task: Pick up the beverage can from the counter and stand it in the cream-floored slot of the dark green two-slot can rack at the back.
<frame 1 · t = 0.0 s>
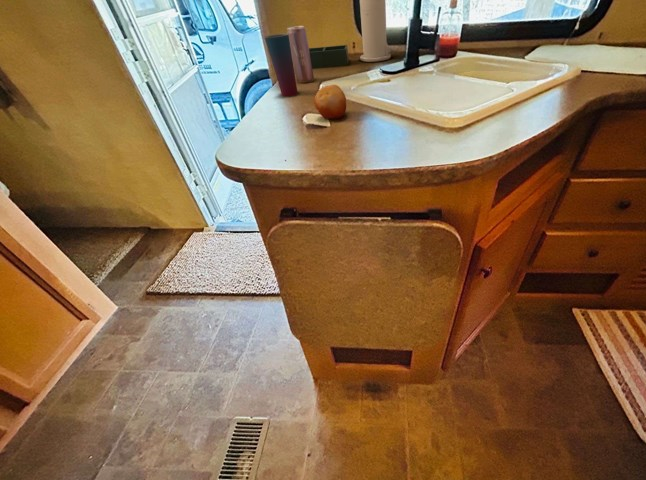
beverage can: (306, 81, 110), on the table
fruit: (333, 117, 81), on the table
rack: (326, 64, 127), on the table
cup: (290, 94, 100), on the table
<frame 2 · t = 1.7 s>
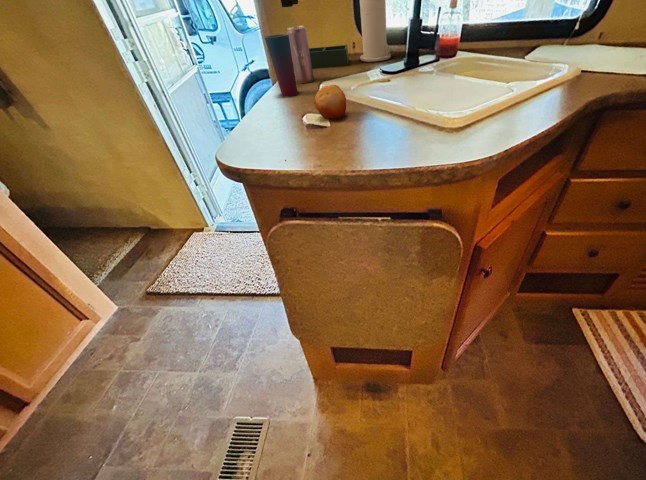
hand: (290, 5, 96), 20 cm above the table, tool pointing down, fingers open, 9 cm apart
nothing on the table moved.
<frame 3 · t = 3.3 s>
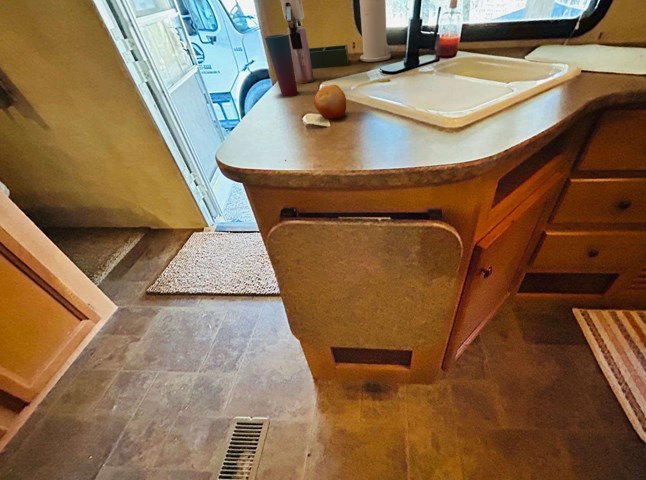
hand: (299, 46, 103), 10 cm above the table, tool pointing down, fingers closed on beverage can, 6 cm apart
beverage can: (306, 81, 110), on the table, touching gripper
everything else where it was.
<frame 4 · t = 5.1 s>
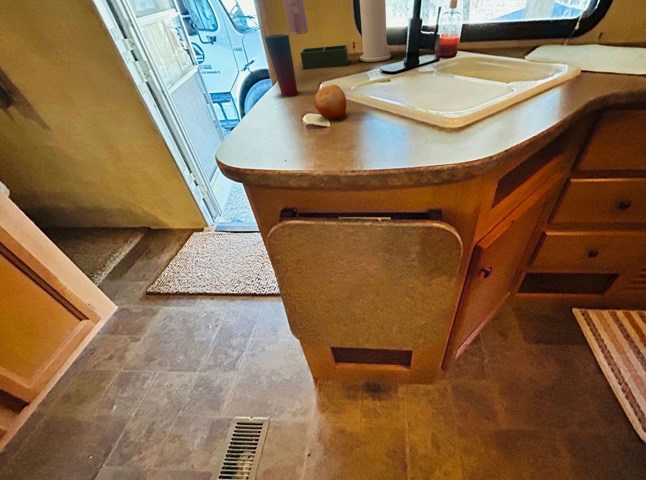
beverage can: (299, 33, 102), point 13 cm above the table, touching gripper
everything else where it was.
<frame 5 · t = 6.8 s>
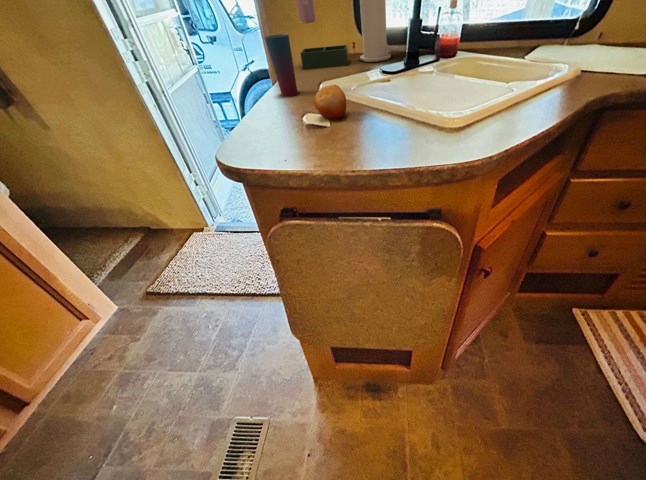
beverage can: (308, 23, 115), point 14 cm above the table, touching gripper
everything else where it was.
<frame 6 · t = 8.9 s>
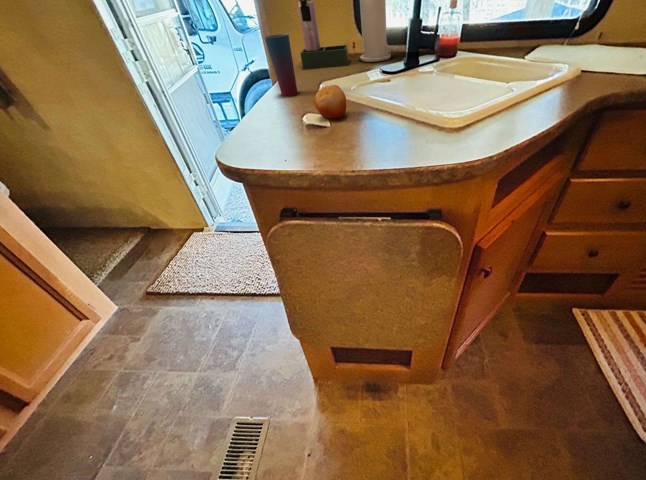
hand: (308, 19, 117), 15 cm above the table, tool pointing down, fingers closed on beverage can, 6 cm apart
beverage can: (313, 52, 124), point 5 cm above the table, touching gripper
everything else where it was.
when the fingers open (11 cm above the table, at t = 10.5 s): beverage can stays where it is, resting on rack.
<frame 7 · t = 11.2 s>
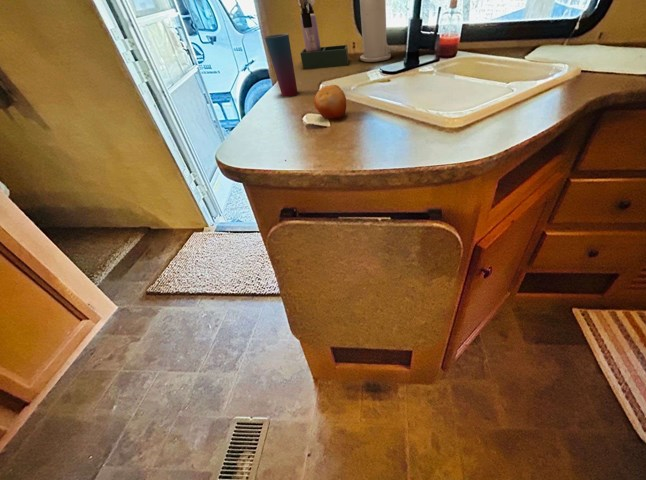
hand: (309, 25, 118), 13 cm above the table, tool pointing down, fingers open, 9 cm apart
beverage can: (315, 63, 126), point 1 cm above the table, touching rack
everything else where it was.
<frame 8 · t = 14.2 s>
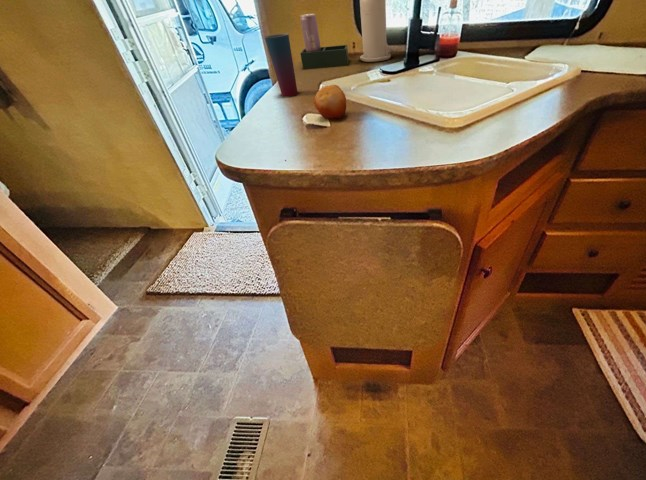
nothing on the table moved.
at the end: beverage can 0.1 cm from the target spot in the rack, point 0.8 cm above the rack's base; beverage can tilted 0°; the gripper is holding nothing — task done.
